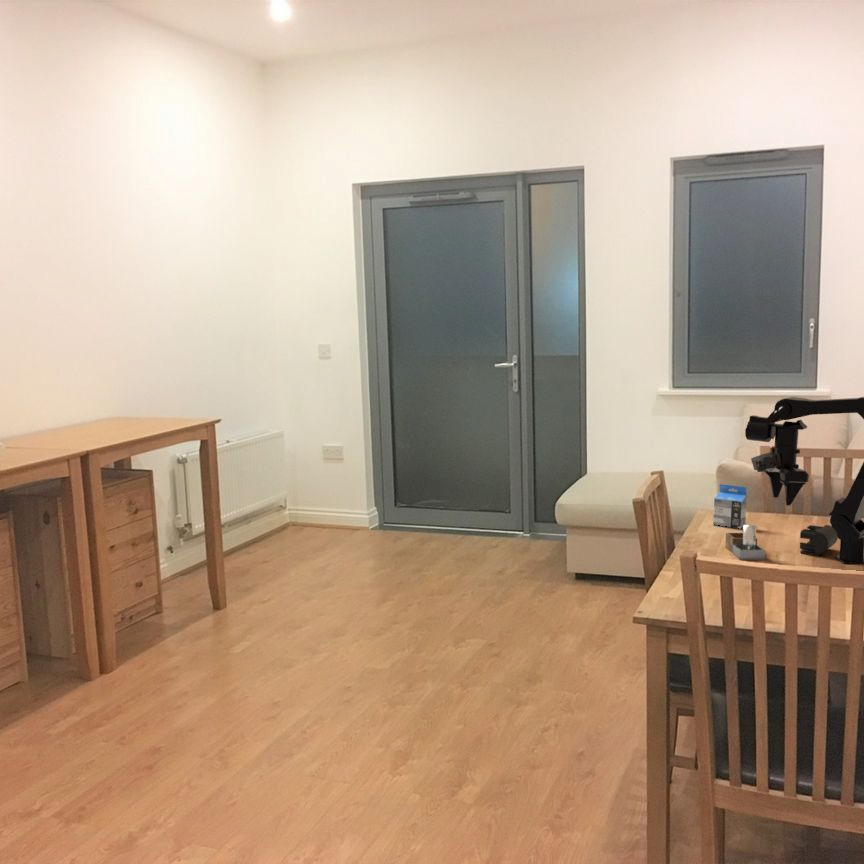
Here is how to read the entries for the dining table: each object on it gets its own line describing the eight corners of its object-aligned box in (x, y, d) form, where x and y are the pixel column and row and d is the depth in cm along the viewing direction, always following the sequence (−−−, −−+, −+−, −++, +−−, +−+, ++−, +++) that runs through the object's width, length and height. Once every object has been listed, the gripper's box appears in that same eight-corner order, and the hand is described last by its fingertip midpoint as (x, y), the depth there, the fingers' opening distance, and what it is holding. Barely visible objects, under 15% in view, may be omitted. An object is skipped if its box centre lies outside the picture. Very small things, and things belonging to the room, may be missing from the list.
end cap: (826, 558, 240) (828, 533, 239) (799, 554, 245) (800, 529, 244) (837, 550, 248) (838, 525, 247) (810, 546, 252) (811, 522, 252)
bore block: (756, 553, 246) (757, 538, 245) (732, 553, 246) (732, 538, 246) (748, 546, 252) (749, 532, 252) (725, 547, 252) (725, 532, 252)
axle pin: (756, 556, 241) (757, 526, 240) (744, 556, 241) (745, 526, 240) (752, 553, 244) (753, 523, 243) (740, 553, 244) (741, 523, 243)
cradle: (764, 559, 239) (765, 550, 239) (740, 559, 240) (740, 550, 239) (756, 553, 246) (757, 544, 245) (732, 553, 246) (732, 544, 246)
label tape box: (712, 525, 278) (713, 485, 276) (718, 522, 281) (719, 483, 279) (740, 529, 272) (741, 488, 271) (746, 527, 275) (747, 486, 274)
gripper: (744, 438, 254) (740, 493, 257) (768, 450, 236) (764, 509, 238) (784, 438, 254) (780, 493, 257) (811, 450, 236) (806, 509, 238)
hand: (781, 501), depth 247 cm, fingers open, 9 cm apart
